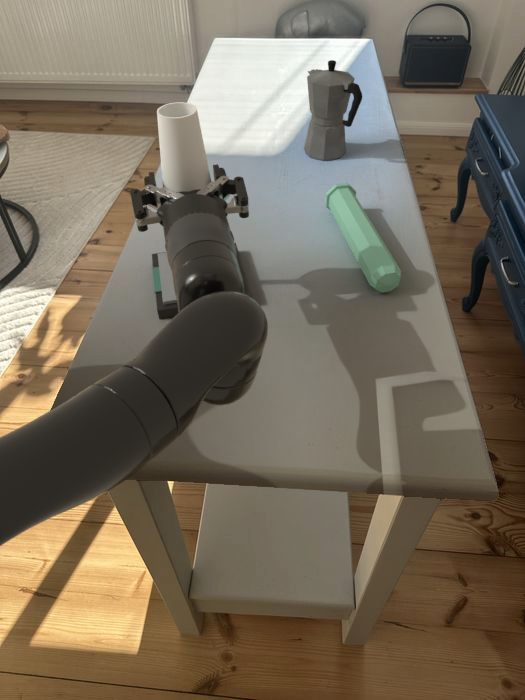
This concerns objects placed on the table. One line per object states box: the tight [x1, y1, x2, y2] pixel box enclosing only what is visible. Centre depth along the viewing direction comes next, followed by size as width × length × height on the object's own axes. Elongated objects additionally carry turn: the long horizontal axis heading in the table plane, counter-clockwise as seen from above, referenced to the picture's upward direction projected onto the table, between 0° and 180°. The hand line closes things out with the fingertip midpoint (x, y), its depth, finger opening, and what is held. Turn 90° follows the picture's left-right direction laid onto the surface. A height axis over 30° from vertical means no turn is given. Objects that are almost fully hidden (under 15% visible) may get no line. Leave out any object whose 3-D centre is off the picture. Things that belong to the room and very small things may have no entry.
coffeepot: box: [303, 59, 363, 161], centre depth 99 cm, size 15×9×18 cm, turn 36°
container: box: [324, 182, 402, 294], centre depth 80 cm, size 6×6×25 cm
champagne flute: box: [156, 101, 212, 193], centre depth 66 cm, size 7×7×24 cm
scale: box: [151, 242, 253, 320], centre depth 76 cm, size 14×14×2 cm
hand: (184, 174), depth 65 cm, fingers open, 8 cm apart
